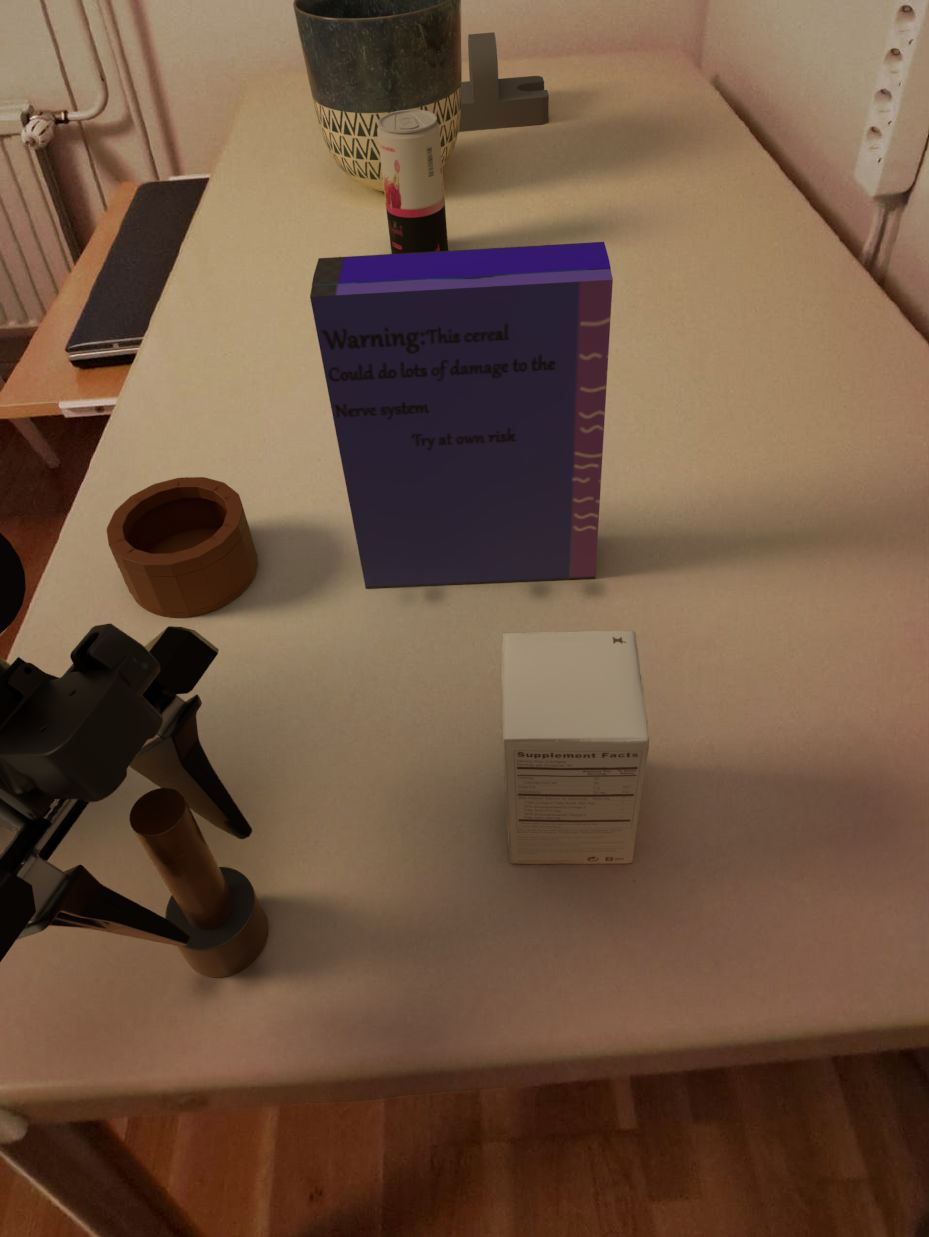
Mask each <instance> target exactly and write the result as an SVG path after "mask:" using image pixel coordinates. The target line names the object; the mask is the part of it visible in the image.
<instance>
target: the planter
mask: <svg viewBox="0 0 929 1237" xmlns="http://www.w3.org/2000/svg"><path fill="white" fill-rule="evenodd" d="M292 4H293V5H292V6H293V12H294V17H295V22H296V28H297V32H298V37H299V42H300V45H301V50H302V55H303V59H304V63H305V68H306V74H307V78H308V82H309V88H310V92H311V96H312V102H313V107H314V110H315V115H316V120H317V124H318V127H319V130H320V133H321V135H322V139H323V141H324V143H325V146H326V148H327V151H328V152H329V154H330V156H331V158H332V160H334V162H335V163H336V165H337V166H338V167H339V168H340V169H341V170H342V171H343V172H344V173H345V174H346V175H347V176H348V177H350V178H351V180H353V181H355V182H356V183H358V184H360V185H362V186H363V187H364V188H365V187H366V188H368V189H370V190H374V191H377V192H384V185H383V176H382V168H381V159H380V151H379V143H378V134H377V128H378V127H379V126H378V120H379V119H380V118H381V117H383V116H384V115H386V114H389V113H392V112H396V111H401V110H411V109H417V110H425V111H429V112H432V113H434V114H435V115H436V116H437V122H438V123H439V130H440V143H441V157H442V168H443V167H444V166H445V165H446V163H447V162H448V161H449V158H450V157H451V155H452V153H453V151H454V149H455V147H456V144H457V141H458V136H459V133H460V131H459V126H460V119H461V105H462V98H461V82H462V72H463V71H462V66H463V65H462V0H293V3H292Z"/></svg>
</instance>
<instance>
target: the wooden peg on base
mask: <svg viewBox="0 0 929 1237" xmlns="http://www.w3.org/2000/svg"><path fill="white" fill-rule="evenodd" d="M129 824H130V828H132V830H133V832H134V833H135V835H136V837H137V838H138V841H139V842H140V844H141V845H142V847H143V849H144V850H145V852H146V854H147V855H148V857H149V858H150V860H151V862H152V864H153V865H154V867H155V868H156V870H157V872H158V874H159V875H160V877H161V879H162V880H163V882H164V884H165V885H166V887H167V888H168V890H169V892H170V894H171V895H170V898H169V900H168V903H167V905H166V910H165V917H164V918H165V919H167V920H169V921H170V922H172V923H173V924H175V925H176V926H177V927H179V928H180V929H181V930H183V931H184V932H185V933H187V934H188V935H189V936H190V937H191V938H190V941H189V942H188V944H187V945H183V946H176V947H177V948H178V950H179V951H180V953H181V955H182V956H183V957H184V959H185V960H186V961H187V964H188V965H189V966H190V967H191V968H192V969H193V970H194V971H195V972H197V973H199V974H200V975H203V976H206V977H209V978H224V977H230V976H232V975H236V974H238V973H240V972H241V971H243V970H245V969H247V968H248V967H249V966H250V965H251V964H252V963H253V962H254V961H256V959H257V958H258V957H259V955H260V954H261V953H262V951H263V949H264V948H265V945H266V944H267V943H266V942H267V940H268V936H269V921H268V918H267V914H266V912H265V911H264V908H263V906H262V904H261V902H260V899H259V897H258V895H257V893H256V891H255V889H254V886H253V884H252V883H251V881H250V880H249V877H247V876H246V875H245V874H244V873H242V872H241V871H239V870H237V869H234V868H231V867H228V866H219V864H218V862H217V860H216V858H215V856H214V854H213V853H212V850H211V849H210V848H211V847H210V846H209V845H208V842H207V840H206V839H205V836H204V834H203V832H202V830H201V829H200V826H199V824H198V822H197V820H196V819H195V817H194V814H193V812H192V810H191V809H190V808H189V806H188V804H187V802H186V800H185V798H184V797H183V795H182V794H181V793H180V792H178V791H176V790H174V789H171V788H160V787H158V788H155V789H152V790H150V791H147V792H146V793H144V794H142V796H140V797H139V798H138V799H137V800H136V801H135V802H134V804H133V805H132V808H131V810H130V813H129Z"/></svg>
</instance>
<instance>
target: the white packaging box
mask: <svg viewBox="0 0 929 1237" xmlns="http://www.w3.org/2000/svg"><path fill="white" fill-rule="evenodd" d="M500 668H501V672H500V712H501V716H500V718H501V738H502V755H503V772H504V774H503V776H504V792H505V793H504V794H505V809H506V810H505V812H506V827H507V842H508V859H509V860H508V861H509V863H510V864H518V865H519V864H520V865H521V864H522V865H609V864H613V865H614V864H615V865H616V864H617V865H620V864H623V865H624V864H631V863H632V862H633V860H634V853H635V844H636V837H637V836H636V835H637V831H638V824H639V823H638V822H639V817H640V812H641V811H640V810H641V805H642V804H641V803H642V796H643V789H644V784H645V777H646V770H647V764H648V755H649V747H650V746H649V745H650V731H649V723H648V715H647V709H646V701H645V694H644V684H643V676H642V671H641V664H640V657H639V648H638V642H637V632H636V631H635V630H584V631H583V630H582V631H581V630H580V631H542V632H541V631H540V632H539V631H538V632H536V631H535V632H532V631H531V632H507V633H503V635H502V643H501V667H500Z"/></svg>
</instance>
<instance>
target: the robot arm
mask: <svg viewBox="0 0 929 1237" xmlns="http://www.w3.org/2000/svg"><path fill="white" fill-rule="evenodd" d="M25 572H26V571H25V569H24V566H23V563H22V560H21V557H20V556H19V554H18V552H17V551H16V549H15V548H14V546H13V545H12V543H11V541H9V540H8V538H7V537H6V536H5V535H4V534H3V533H2V532H0V637H1V636H3V634H4V633H5V632H6V631H7V629H8V628H9V627H10V626H11V625H12V623H13V622H14V621H15V620H16V618H17V616H18V614H19V612H20V611H21V609H22V606H23V604H24V599H25V596H26V590H27V585H26V573H25ZM219 651H220V649H219V648H218V647H216V645H214V644H213V643H211V642H210V641H209V640H208V639H207V638H205V637H204V636H203V635H201V634H200V633H199V632H197V630H195V629H191V628H188V627H183V626H171V625H169V626H167V627H166V628H165V629H163V630H162V631H161V632H160V633H159V634H157V635H156V636H155V637H154V638H153V639H151V641H149V642H148V643H147V644H145V645H143V644H142V643H140V642H139V641H138V640H136V639H134V638H133V637H131V636H130V635H129V634H127V633H126V632H124V631H123V630H122V629H121V628H119V627H117V626H116V625H114V624H112V623H111V622H109V623H105V624H97V625H94V626H92V627H91V628H90V630H89V631H88V632H87V633H86V634H85V635H84V636H83V638H82V639H81V640H80V641H79V643H78V644H77V645H76V646H75V647H74V649H73V650H72V651H71V652H70V654H69V657H70V660H71V662H72V664H71V665H70V666H69V668H68V669H67V670H66V671H65V673H64V674H63V675H62V676H60V677H58V676H56V675H53V674H51V673H47V672H45V671H44V670H42V669H40V668H39V667H38V666H36V665H35V664H34V663H31V662H27V661H25V660H23V658H21V657H20V656H18V657H17V658H16V659H15V660H14V661H13V662H12V663H9V662H8V661H6V660H5V659H4V658H2V657H1V656H0V825H1V826H3V827H4V828H5V829H7V830H9V831H10V832H12V831H14V830H15V829H18V831H17V833H16V834H15V835H14V836H13V838H12V839H11V841H10V842H9V843H8V844H7V846H6V847H5V848H4V850H3V851H2V852H1V853H0V963H1V962H2V961H3V959H4V958H5V957H6V955H7V954H8V952H9V951H10V949H11V948H12V947H13V945H14V944H15V942H16V941H18V940H21V939H24V938H26V937H29V936H33V935H36V934H39V933H42V932H44V931H45V930H46V929H47V928H49V927H62V928H75V929H85V930H86V929H87V930H94V931H99V932H103V933H104V932H106V933H110V934H115V935H119V936H125V937H130V938H136V939H141V940H145V941H150V942H156V943H161V944H165V945H169V946H170V945H171V946H175V947H177V946H183V945H187V944H188V942H189V941H190V938H191V937H190V936H189V935H188V934H187V933H185V932H184V931H183V930H181V929H180V928H179V927H177V926H176V925H175V924H173V923H172V922H170V921H169V920H167V919H165V917H164V916H162V915H161V914H160V915H159V914H158V913H156V912H154V911H152V910H151V909H149V908H147V907H145V906H143V905H141V904H139V903H137V902H135V901H133V900H132V899H129V898H128V897H126V896H124V895H122V894H120V893H118V892H117V891H115V890H114V889H111V888H110V887H107V886H106V885H104V884H102V883H101V882H100V881H99V880H98V879H97V878H96V877H95V876H94V875H93V874H92V873H91V872H90V871H89V870H88V869H87V868H86V867H85V866H84V865H83V864H78V865H76V866H73V867H71V868H68V869H67V870H64V871H63V870H62V869H60V868H59V867H57V866H56V865H54V864H53V863H51V862H50V861H48V860H49V859H50V858H51V857H52V855H53V854H54V852H55V851H56V849H57V848H58V847H59V845H60V844H61V843H62V841H63V840H64V839H65V838H66V836H67V834H68V833H69V832H70V830H71V829H72V828H73V826H74V825H75V823H76V822H77V821H78V819H79V818H80V817H81V815H82V814H83V812H84V811H85V809H86V808H87V807H88V805H89V804H90V803H96V802H100V801H103V800H105V799H107V798H108V797H110V796H111V795H112V794H114V792H116V791H117V790H118V789H119V787H121V785H122V784H123V782H124V781H125V780H126V778H127V776H128V769H129V767H130V768H131V769H132V770H134V771H136V772H137V773H138V774H140V775H141V776H142V777H144V778H145V779H146V780H148V781H150V782H151V783H152V784H154V785H156V786H157V787H158V788H171V789H174V790H176V791H178V792H180V793H181V794H182V795H183V797H184V798H185V800H186V802H187V804H188V806H189V808H190V810H191V811H193V812H194V813H196V814H197V815H198V816H200V817H201V818H203V819H204V820H205V821H207V822H208V823H209V824H211V825H213V826H214V827H216V828H218V829H219V830H222V831H223V832H225V833H227V834H229V835H231V836H233V837H235V838H236V839H239V840H245V839H247V838H250V837H251V835H252V833H253V829H252V826H251V825H250V823H249V821H248V820H247V819H246V817H245V815H244V813H243V812H242V811H241V809H240V808H239V806H238V805H237V804H236V802H235V800H234V799H233V797H232V796H231V794H230V792H229V791H228V789H227V787H225V785H224V783H223V782H222V780H221V779H220V777H219V775H218V773H216V771H215V769H214V768H213V766H212V764H211V761H210V760H209V757H208V756H207V754H206V752H205V750H204V747H203V746H202V743H201V742H200V737H199V729H198V722H197V714H198V711H199V710H200V708H201V707H202V705H203V702H202V699H201V697H200V696H199V694H194V695H192V696H191V697H190V698H188V699H187V700H184V699H183V698H182V697H180V696H179V695H187V694H189V693H191V692H192V691H193V690H194V689H195V687H196V686H197V684H198V683H199V682H200V680H201V679H202V678H203V676H204V674H205V673H206V672H207V671H208V669H209V667H210V666H211V665H212V663H213V662H214V660H215V659H216V657H217V656H218V655H219Z"/></svg>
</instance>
